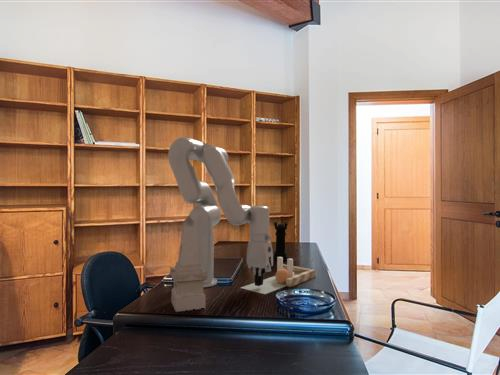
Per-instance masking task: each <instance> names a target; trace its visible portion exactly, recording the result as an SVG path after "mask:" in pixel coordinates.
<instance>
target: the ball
mask: <svg viewBox="0 0 500 375" xmlns="http://www.w3.org/2000/svg"><path fill="white" fill-rule="evenodd" d="M274 276H275V278H276V280H277V281H278V282H279V283H281V284H285V283H286V279H287V278H289V277H290V274H289V272H288V271H287V270H286V269H279V270H278V271H277V270H276V272H275V274H274Z"/></svg>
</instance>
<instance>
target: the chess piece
mask: <svg viewBox="0 0 500 375" xmlns="http://www.w3.org/2000/svg"><path fill="white" fill-rule="evenodd" d="M273 226H274V230H275V250H274V253H273V262H277V257H283V262H287V259H289V258H288V253H287V251H286V235H287V232H286V230H287V229H288V228H287V227H288V222H287V221H284V223H282V224H281V223H278V221H274V222H273Z"/></svg>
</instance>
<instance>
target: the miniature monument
mask: <svg viewBox="0 0 500 375" xmlns="http://www.w3.org/2000/svg"><path fill="white" fill-rule="evenodd" d="M180 235H181V236H180V241H179V242H180V244H179V251H178V258H177V262H175V265H174V267H173V266H169V267H170V268H169V269H170V270H169V274H170V276H171V278H172V280H173V288H172V289H171V304H172V307H173V308H174V311H175V312H184V311H185V312H186V310H187V311H193V309H195V310H201V308H204V309H206V297H207V296H206V294H205V293H204V288H203V284H204V280H206V279H207V271H206V272H205V271H204V270H202V269H201V265H200V263H199V255H198V247H197V238H196V230H195V222H194V221H193V220H192V218H191V217H190V216H189V215H188V216H187V217H186V218H185V219H184V220H183V222H182V229H181V234H180Z"/></svg>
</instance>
